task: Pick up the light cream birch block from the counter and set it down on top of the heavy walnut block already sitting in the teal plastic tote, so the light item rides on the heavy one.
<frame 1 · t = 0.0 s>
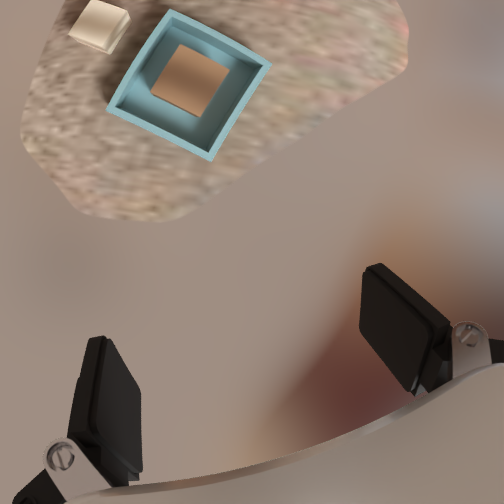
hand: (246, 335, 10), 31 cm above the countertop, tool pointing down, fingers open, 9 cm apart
birch block: (105, 32, 27), on the countertop
walnut block: (187, 85, 33), point 1 cm above the countertop, touching tote
tote: (187, 86, 33), on the countertop
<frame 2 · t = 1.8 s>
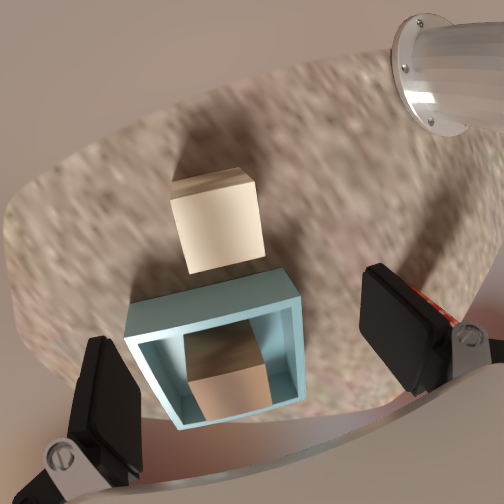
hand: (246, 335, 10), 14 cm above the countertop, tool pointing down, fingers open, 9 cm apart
birch block: (211, 205, 23), on the countertop
walnut block: (222, 347, 28), point 1 cm above the countertop, touching tote
tote: (221, 343, 29), on the countertop
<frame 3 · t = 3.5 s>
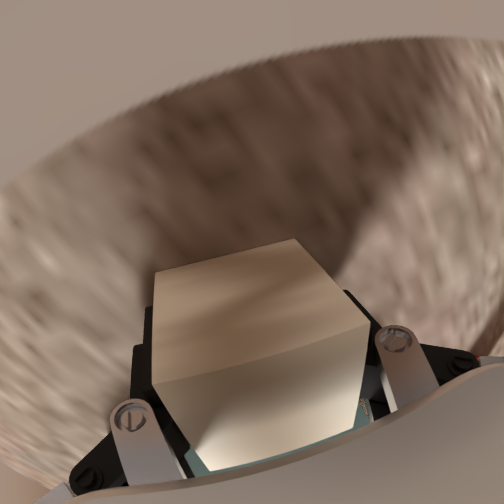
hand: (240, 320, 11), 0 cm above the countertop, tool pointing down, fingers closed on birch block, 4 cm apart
birch block: (238, 312, 12), on the countertop, touching gripper
tote: (245, 464, 18), on the countertop
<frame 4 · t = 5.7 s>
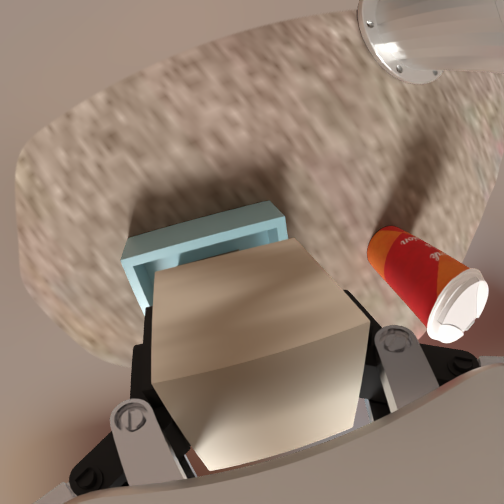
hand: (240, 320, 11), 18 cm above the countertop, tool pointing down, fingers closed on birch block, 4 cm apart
birch block: (237, 311, 12), point 17 cm above the countertop, touching gripper
tote: (214, 280, 31), on the countertop
paper cup: (384, 246, 34), on the countertop
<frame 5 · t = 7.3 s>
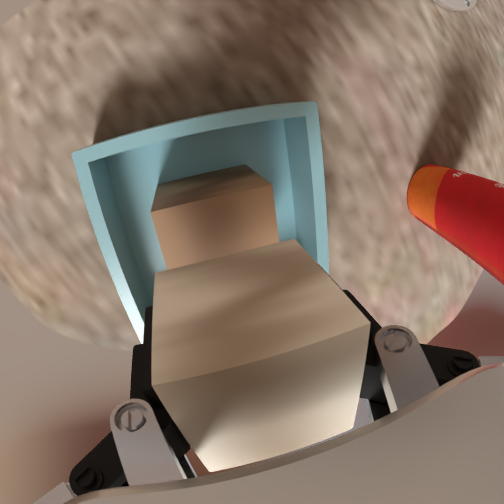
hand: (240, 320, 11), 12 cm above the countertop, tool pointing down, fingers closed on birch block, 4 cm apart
birch block: (237, 312, 12), point 11 cm above the countertop, touching gripper
walnut block: (210, 215, 21), point 1 cm above the countertop, touching tote
tote: (209, 212, 22), on the countertop
paper cup: (425, 191, 26), on the countertop
when the fingers open (9 cm above the countertop, at t = 8.2 s): birch block drops 2 cm, resting on walnut block.
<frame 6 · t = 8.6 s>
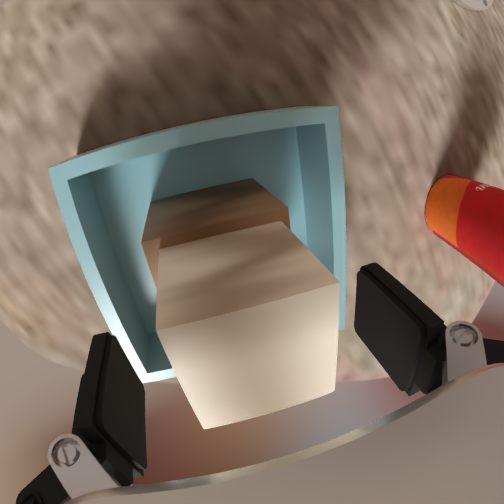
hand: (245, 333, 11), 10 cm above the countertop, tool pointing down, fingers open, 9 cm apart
birch block: (231, 287, 13), point 7 cm above the countertop, touching walnut block
walnut block: (211, 236, 19), point 1 cm above the countertop, touching birch block, tote
tote: (210, 232, 19), on the countertop
paper cup: (443, 203, 23), on the countertop
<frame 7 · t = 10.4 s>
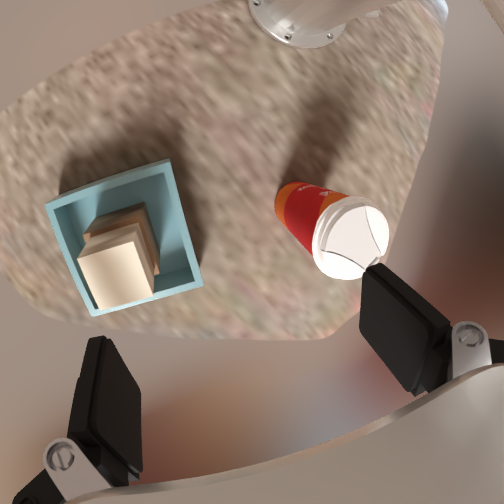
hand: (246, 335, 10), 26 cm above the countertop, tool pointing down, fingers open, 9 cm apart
birch block: (122, 254, 27), point 7 cm above the countertop, touching walnut block
walnut block: (127, 234, 33), point 1 cm above the countertop, touching birch block, tote
tote: (128, 232, 33), on the countertop
paper cup: (294, 202, 38), on the countertop
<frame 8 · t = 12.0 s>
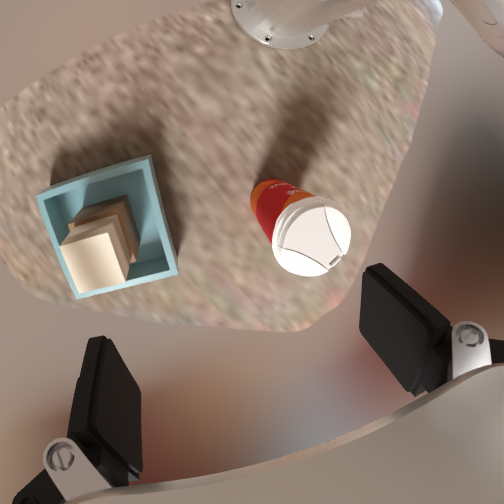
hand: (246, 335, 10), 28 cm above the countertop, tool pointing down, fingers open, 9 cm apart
birch block: (102, 242, 29), point 7 cm above the countertop, touching walnut block
walnut block: (111, 223, 35), point 1 cm above the countertop, touching birch block, tote
tote: (112, 222, 35), on the countertop
paper cup: (270, 199, 39), on the countertop
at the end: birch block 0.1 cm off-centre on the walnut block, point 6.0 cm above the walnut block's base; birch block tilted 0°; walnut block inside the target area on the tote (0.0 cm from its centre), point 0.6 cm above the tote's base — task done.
